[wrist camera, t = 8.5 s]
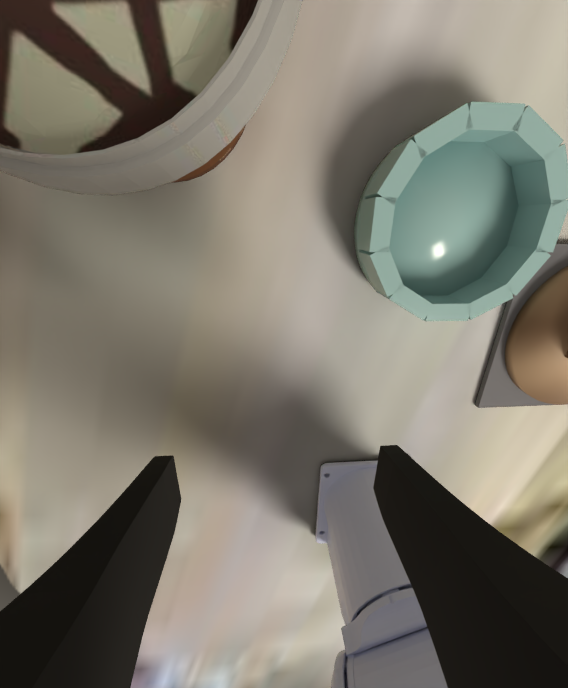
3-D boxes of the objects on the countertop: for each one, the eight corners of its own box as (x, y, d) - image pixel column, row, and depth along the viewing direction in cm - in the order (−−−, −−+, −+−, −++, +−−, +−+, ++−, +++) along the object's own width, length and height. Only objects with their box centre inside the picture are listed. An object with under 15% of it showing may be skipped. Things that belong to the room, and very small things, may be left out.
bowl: (491, 305, 20) (529, 319, 17) (346, 307, 19) (361, 322, 16) (544, 126, 16) (603, 107, 13) (364, 120, 15) (387, 98, 12)
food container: (18, 167, 15) (-379, 77, 6) (9, 9, 13) (-663, -559, 3) (254, 234, 17) (247, 249, 8) (282, 108, 15) (318, -82, 5)
